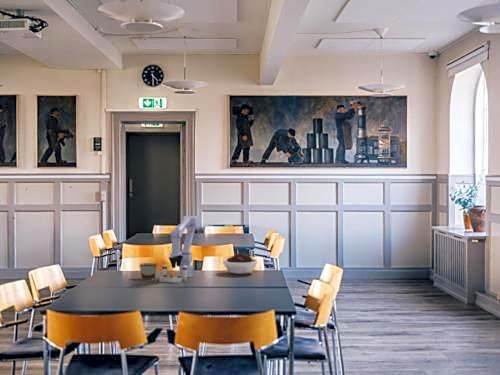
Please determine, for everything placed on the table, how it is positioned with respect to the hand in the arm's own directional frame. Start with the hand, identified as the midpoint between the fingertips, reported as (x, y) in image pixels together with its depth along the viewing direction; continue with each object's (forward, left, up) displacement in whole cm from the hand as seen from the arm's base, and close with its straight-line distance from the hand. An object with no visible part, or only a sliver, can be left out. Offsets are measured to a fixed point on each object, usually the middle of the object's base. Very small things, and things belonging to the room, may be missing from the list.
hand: (176, 267), depth 403 cm
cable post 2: (-2, +8, -9) cm, 12 cm away
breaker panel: (+7, +4, -9) cm, 12 cm away
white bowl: (-51, +8, -9) cm, 52 cm away
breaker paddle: (+5, +3, -5) cm, 8 cm away
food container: (+10, -18, -9) cm, 22 cm away
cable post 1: (+6, -5, -9) cm, 12 cm away
